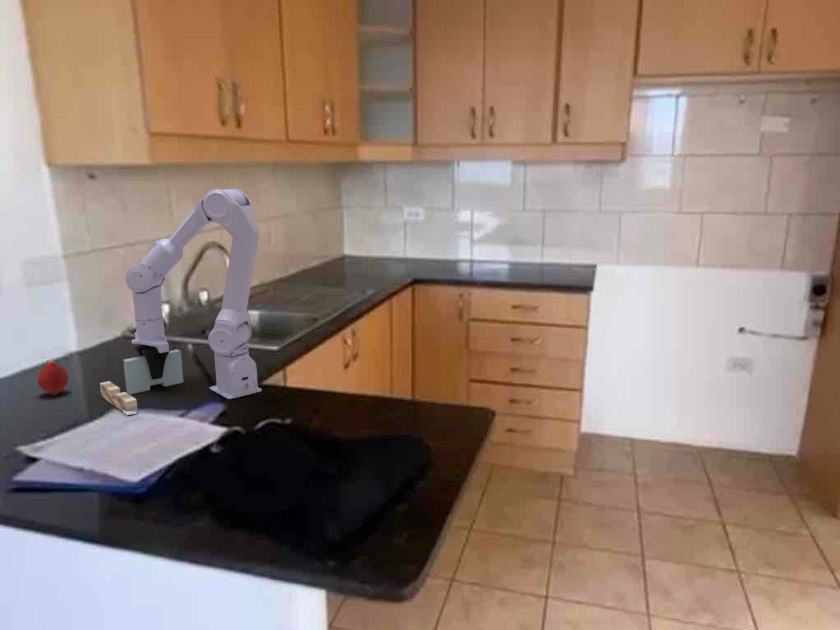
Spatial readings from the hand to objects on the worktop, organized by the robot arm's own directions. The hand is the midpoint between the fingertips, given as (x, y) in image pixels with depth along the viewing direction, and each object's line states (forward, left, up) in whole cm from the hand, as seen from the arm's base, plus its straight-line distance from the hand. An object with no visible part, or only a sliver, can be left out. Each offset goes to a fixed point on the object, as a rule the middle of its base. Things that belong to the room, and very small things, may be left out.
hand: (154, 377), depth 145 cm
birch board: (-6, +10, -2) cm, 12 cm away
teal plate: (0, 0, -2) cm, 2 cm away
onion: (+10, +18, -3) cm, 21 cm away
